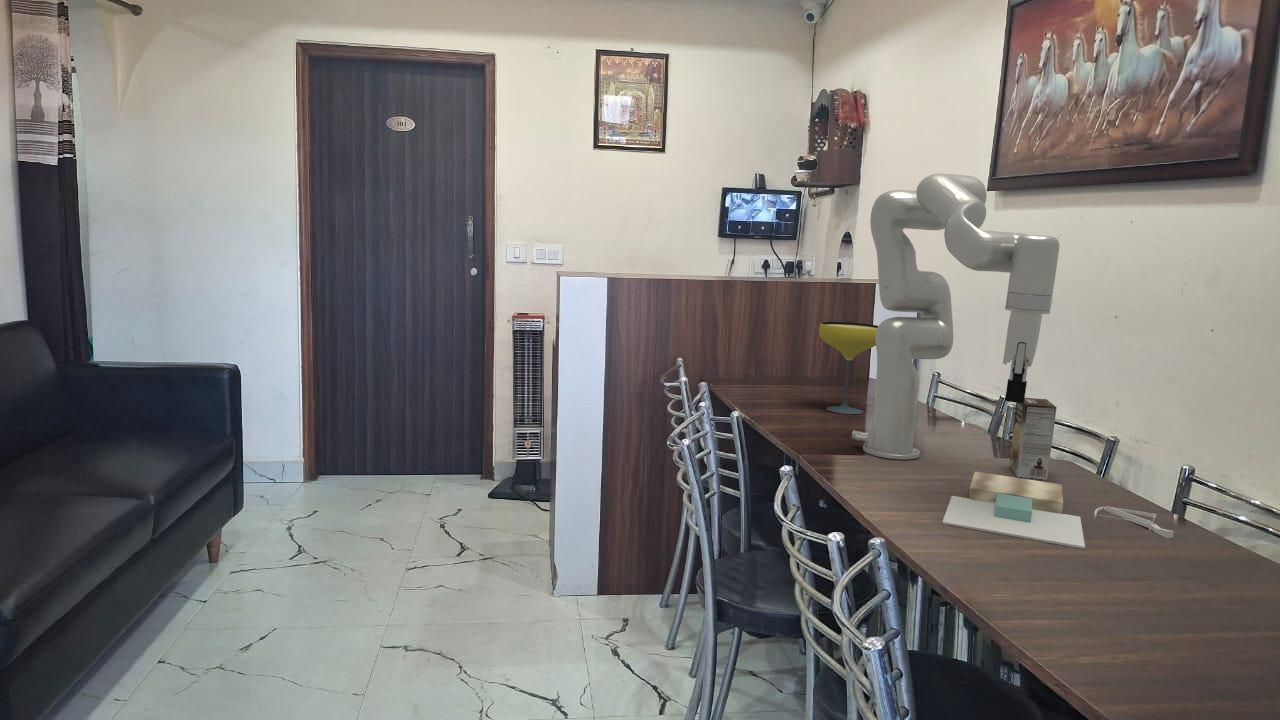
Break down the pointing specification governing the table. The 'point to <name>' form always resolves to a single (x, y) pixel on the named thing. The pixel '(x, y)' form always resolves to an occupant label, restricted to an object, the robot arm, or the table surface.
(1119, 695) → the table surface
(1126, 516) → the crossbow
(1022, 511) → the teal tile
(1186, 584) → the table surface
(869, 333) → the cocktail glass
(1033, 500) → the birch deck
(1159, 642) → the table surface
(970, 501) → the white mat
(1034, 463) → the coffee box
